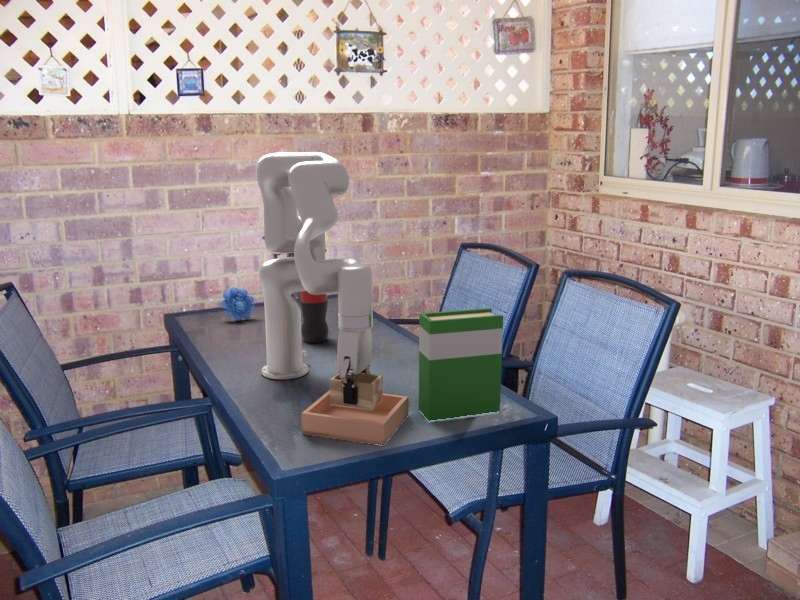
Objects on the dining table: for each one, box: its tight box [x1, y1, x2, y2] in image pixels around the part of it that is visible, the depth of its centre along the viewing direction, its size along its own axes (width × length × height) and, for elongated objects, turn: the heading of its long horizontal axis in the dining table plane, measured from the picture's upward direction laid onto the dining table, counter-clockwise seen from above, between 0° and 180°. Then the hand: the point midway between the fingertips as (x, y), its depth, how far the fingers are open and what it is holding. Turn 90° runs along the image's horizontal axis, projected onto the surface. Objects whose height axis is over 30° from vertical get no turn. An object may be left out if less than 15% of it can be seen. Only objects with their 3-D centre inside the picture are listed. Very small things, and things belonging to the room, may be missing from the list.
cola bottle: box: [300, 291, 329, 344], centre depth 227 cm, size 8×8×30 cm
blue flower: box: [220, 286, 256, 322], centre depth 250 cm, size 12×7×12 cm, turn 114°
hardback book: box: [418, 307, 504, 421], centre depth 171 cm, size 18×7×24 cm, turn 107°
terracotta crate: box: [300, 389, 409, 446], centre depth 166 cm, size 17×19×5 cm
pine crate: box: [329, 371, 384, 411], centre depth 164 cm, size 6×10×6 cm, turn 71°
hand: (356, 397), depth 165 cm, fingers closed on pine crate, 6 cm apart
